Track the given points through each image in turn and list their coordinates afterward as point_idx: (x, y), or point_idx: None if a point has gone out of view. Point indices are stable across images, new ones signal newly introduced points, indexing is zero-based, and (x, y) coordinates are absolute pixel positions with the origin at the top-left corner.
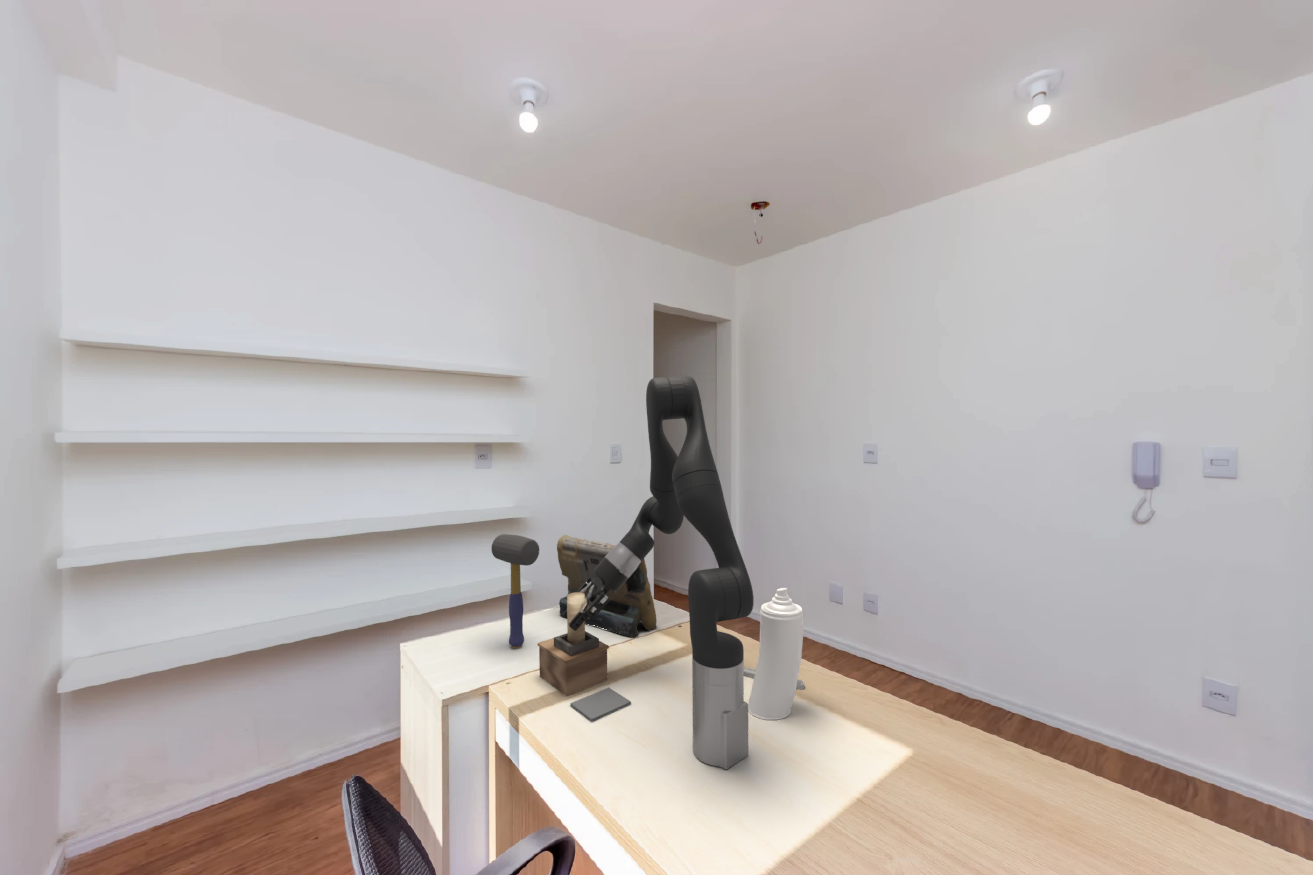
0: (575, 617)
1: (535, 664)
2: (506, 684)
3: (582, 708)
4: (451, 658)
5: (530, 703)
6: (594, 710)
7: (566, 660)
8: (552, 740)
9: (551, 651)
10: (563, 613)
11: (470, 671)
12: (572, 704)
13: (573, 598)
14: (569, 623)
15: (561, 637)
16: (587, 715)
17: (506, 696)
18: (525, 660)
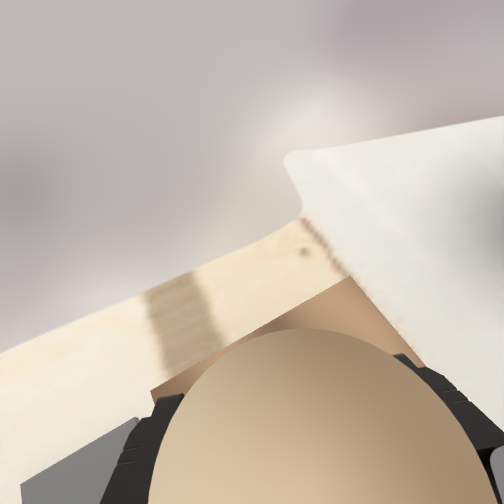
0: (143, 452)
1: (412, 311)
2: (297, 249)
3: (89, 457)
4: (437, 134)
5: (190, 309)
6: (59, 501)
7: (153, 395)
8: (13, 365)
9: (258, 331)
10: (396, 354)
11: (371, 174)
12: (125, 424)
13: (171, 433)
14: (173, 396)
15: None
16: (46, 471)
17: (238, 255)
18: (439, 281)
